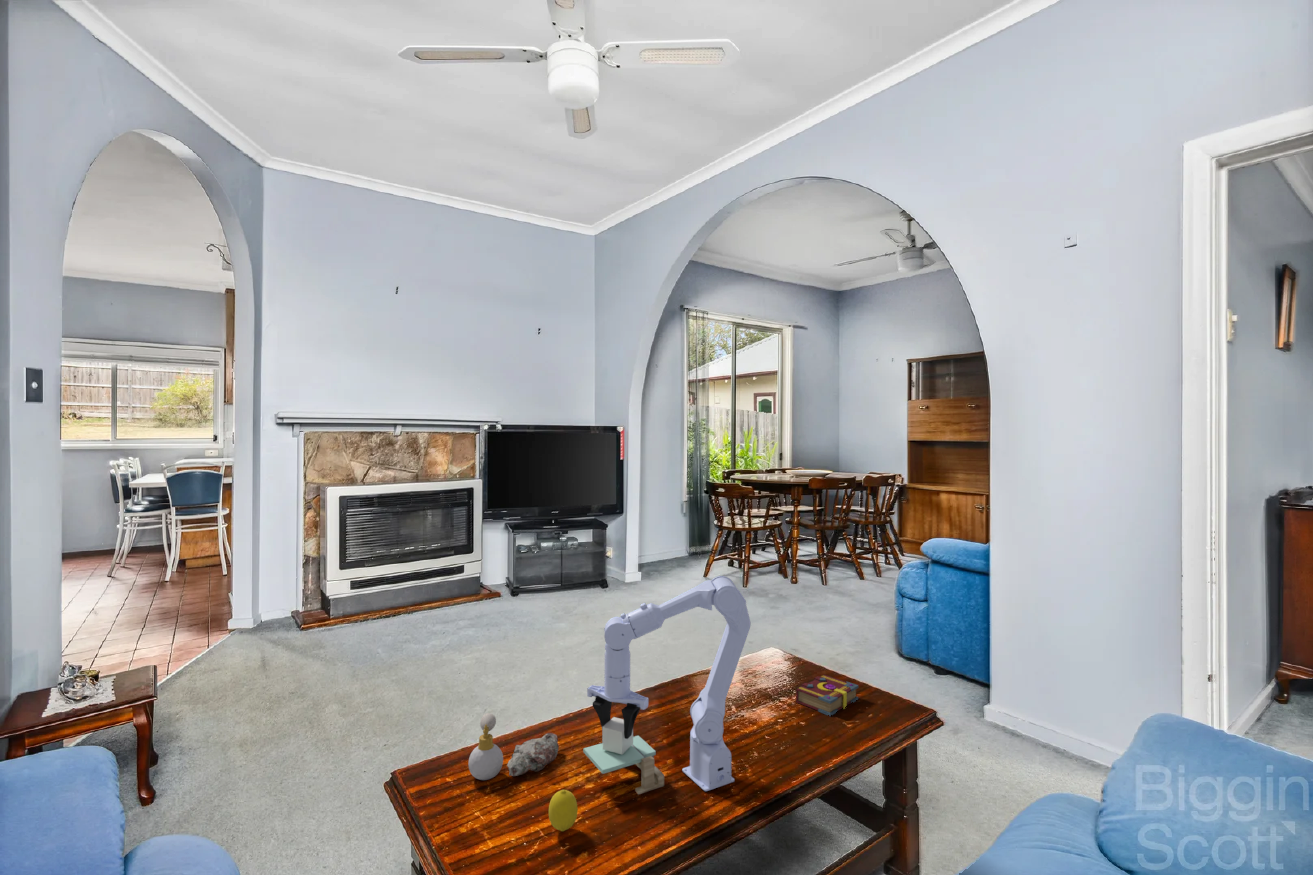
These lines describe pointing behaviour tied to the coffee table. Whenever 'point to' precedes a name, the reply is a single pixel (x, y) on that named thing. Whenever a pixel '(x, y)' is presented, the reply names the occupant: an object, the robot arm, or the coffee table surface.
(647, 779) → the frame
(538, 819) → the coffee table surface
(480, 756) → the perfume bottle
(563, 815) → the lemon
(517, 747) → the mineral rock
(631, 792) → the coffee table surface
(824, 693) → the decorative book
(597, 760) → the trapdoor
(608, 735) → the white cube
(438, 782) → the coffee table surface
